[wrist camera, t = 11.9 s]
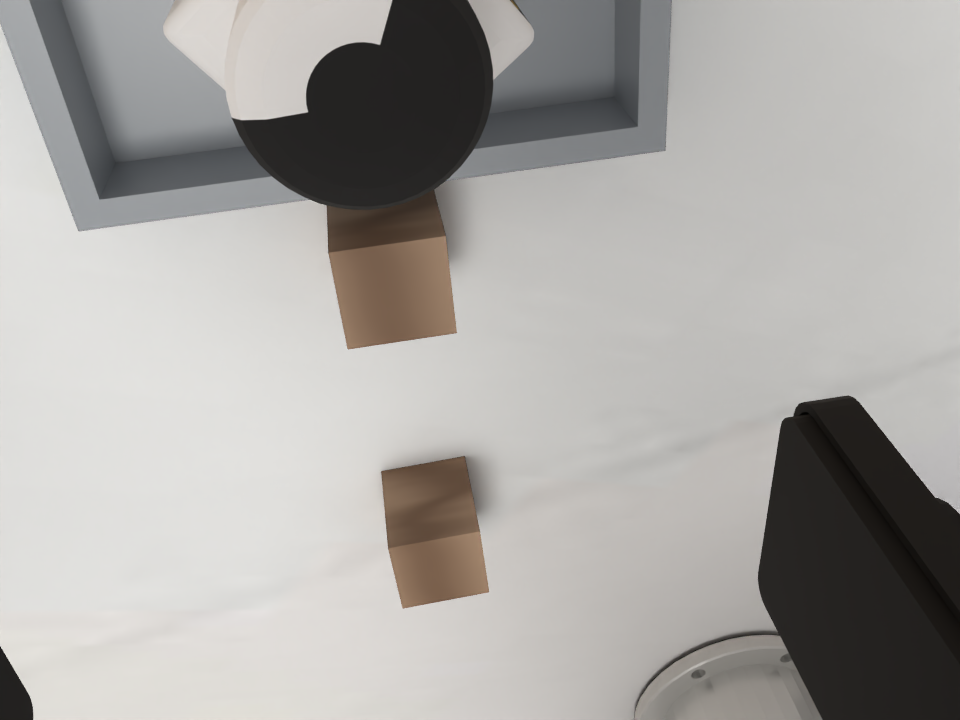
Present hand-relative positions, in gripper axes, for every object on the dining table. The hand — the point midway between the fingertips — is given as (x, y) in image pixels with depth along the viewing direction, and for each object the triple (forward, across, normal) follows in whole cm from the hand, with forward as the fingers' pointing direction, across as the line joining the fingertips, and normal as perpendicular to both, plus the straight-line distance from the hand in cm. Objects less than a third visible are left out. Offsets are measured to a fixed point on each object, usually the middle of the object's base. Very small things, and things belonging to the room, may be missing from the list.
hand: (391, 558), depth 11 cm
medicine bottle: (+25, 0, -1) cm, 25 cm away
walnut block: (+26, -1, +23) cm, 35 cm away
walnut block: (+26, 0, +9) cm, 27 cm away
